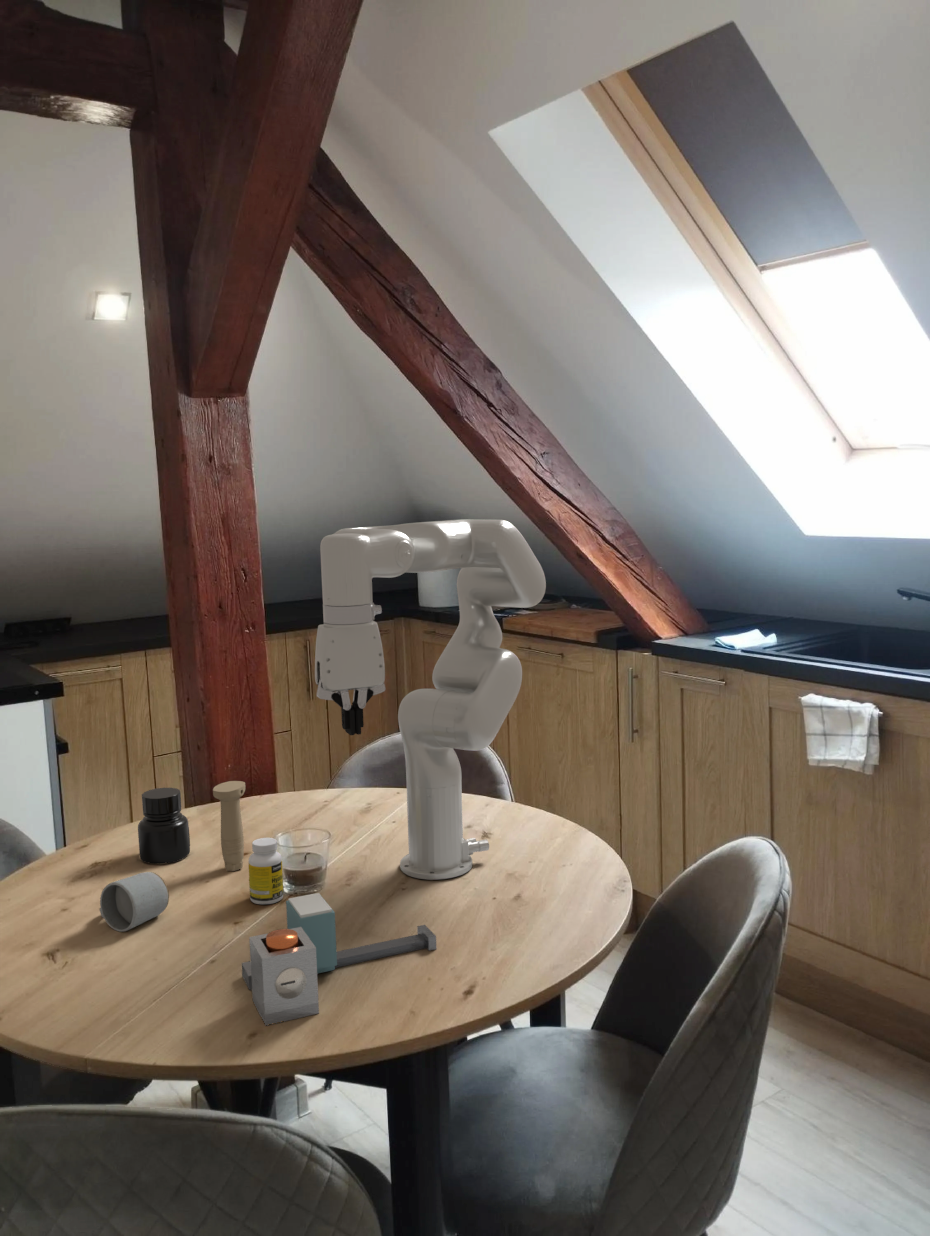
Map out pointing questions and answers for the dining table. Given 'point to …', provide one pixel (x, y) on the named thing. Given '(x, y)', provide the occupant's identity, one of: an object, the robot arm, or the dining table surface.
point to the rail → (372, 951)
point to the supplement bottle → (265, 872)
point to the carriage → (315, 926)
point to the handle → (231, 823)
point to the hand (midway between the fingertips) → (353, 732)
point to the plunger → (281, 940)
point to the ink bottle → (163, 827)
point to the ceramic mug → (133, 900)
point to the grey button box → (284, 979)
